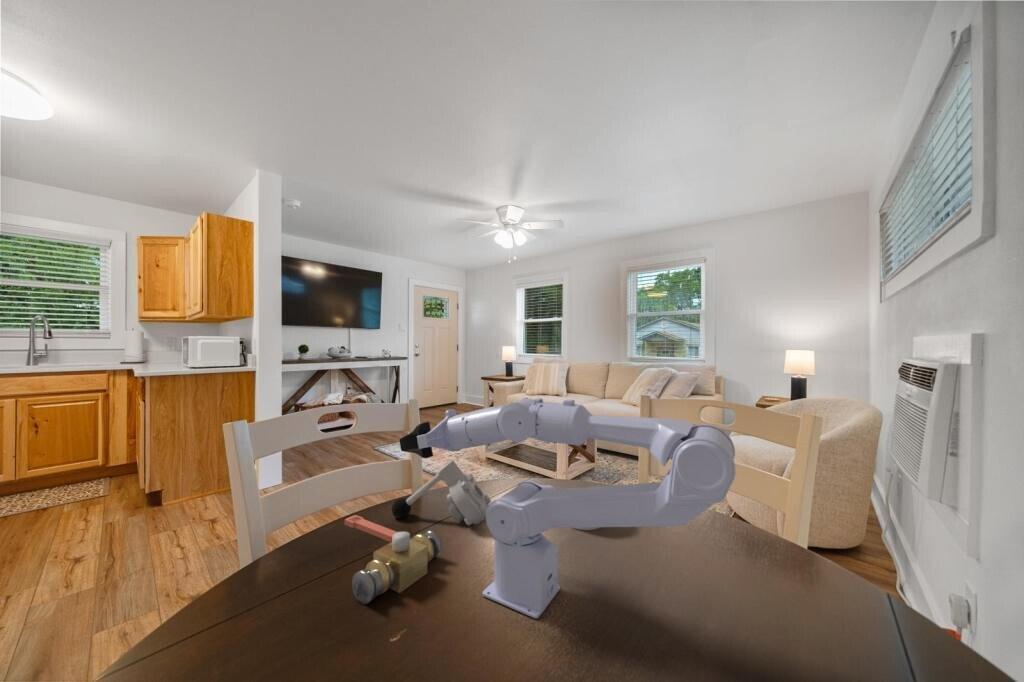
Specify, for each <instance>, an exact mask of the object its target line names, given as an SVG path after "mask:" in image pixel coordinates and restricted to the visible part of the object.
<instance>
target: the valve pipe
mask: <svg viewBox="0 0 1024 682" xmlns="http://www.w3.org/2000/svg"><path fill="white" fill-rule="evenodd" d="M442 550H443V542H442V538H441V537H440V535H439V533H437V532H436V531H435V530H433V529H431V530H430V529H429V530H427V531H425V532H424V533H418V534H416V535H414V536H412V537H411V538H410V547H409V548H408V549H407V550H405V551H394V550H393V549H392V542H389V543H387V544H385V545H383V546H381V547H380V548H379V549H378V548H377V550H375V551H373V560H371V561H369V562H368V563H367V564H366V566H365V568H364V569H361V570H359V571H357V572H356V573H354V574H353V576H352V580H351V588H352V592H353V594H354V596H355V599H356V600H357V601H358V602H359V603H361V604H362V605H367V604H369V603H370V602H372V601H373V600H374V599H375V598H376V597H378V596H380V595H382V594H384V593H385V592H387V591H388V590H389V589H391V591H395V592H396V593H398V594H401V593H402V592H404V590H406V589H407V588H409V587H410V586H411V585H413V584H414V583H416V582H417V581H419V580H420V579H421V578H423V577H424V576H425V575H427V574H428V562H430V561H431V560H432V559H434V558H436V557H438V556H439V555H440V554H441V553H442Z"/></svg>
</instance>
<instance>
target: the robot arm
mask: <svg viewBox="0 0 1024 682" xmlns="http://www.w3.org/2000/svg"><path fill="white" fill-rule="evenodd" d="M543 400H544V399H543V398H542V397H541V398H540V397H539V398H538V397H537V398H529V397H524V398H522V399H520V400H516V401H512V402H508V403H506V404H502V405H498V406H497V405H494V406H490V407H485V408H480V409H477V410H473V411H469V412H465V413H464V412H463V413H460V414H457V411H456V410H455V409H454V408H453V409H447V410H446V411H445V417H444V419H442V420H441V421H440V422H439V423H437V425H435V427H433V428H431V424H430V422H429V421H427V422H421V423H419V424H417V425H416V426H415V428H414V429H413V430H412V431H411V432H410V433H408V434H405V435H404V436H402V437H401V438H400V439H398V440H399V446H400V451H401V452H404V453H411V454H416V455H418V456H420V458H422V459H429V458H432V457H434V452H433V448H434V449H439V450H445V451H450V452H459V451H461V450H464V449H469V448H475V447H481V446H486V445H493V444H498V443H502V442H504V441H507V440H508V441H510V442H511V441H512V442H514V443H516V444H518V443H523V442H524V441H526V440H527V439H529V437H530V438H532V439H535V440H537V441H543V442H549V443H550V442H551V443H555V444H556V443H557V444H564V445H571V446H581V445H583V444H584V443H585V442H586V441H587V440H588V439H593V440H599V441H604V442H610V443H617V444H621V445H627V446H631V447H632V446H633V447H639V448H644V449H646V450H648V451H649V453H650V454H651V455H652V456H653V458H655V459H656V461H658V462H659V463H660V465H661V466H663V467H666V465H667V463H668V462H669V459H670V460H671V463H670V468H669V470H668V471H667V472H666V474H665V475H664V477H663V479H662V480H661V481H655V482H644V483H643V482H641V483H630V484H615V485H611V484H610V485H600V486H599V485H598V486H597V485H596V486H585V487H570V488H568V487H567V488H555V487H554V486H552V485H549V484H548V485H546V484H545V485H542V484H539V483H537V482H535V481H532V480H525V481H522V482H520V483H518V485H516V487H514V488H513V489H511V490H509V491H508V492H507V493H505V494H504V495H502V496H500V497H499V498H496V499H493V500H491V502H490V503H489V506H488V508H487V511H486V518H485V521H486V525H487V528H488V530H489V532H490V534H491V536H493V540H494V557H493V558H494V561H493V563H494V568H493V570H494V571H493V572H494V573H493V575H494V577H493V578H494V580H493V581H492V582H491V583H490V584H489V585H488V586H487V587H486V588H485V589H484V590H483V591H482V596H483V597H484V598H487V599H489V600H491V601H494V602H496V603H499V604H500V605H503V606H506V607H508V608H510V609H513V610H514V611H517V612H520V613H522V614H523V615H527V616H529V617H531V618H533V619H538V618H540V616H541V615H542V613H544V611H545V609H546V608H547V607H548V606H549V604H550V603H551V601H552V600H553V599H554V598H555V596H556V595H557V594H558V592H559V591H560V590H561V587H560V585H559V548H558V545H557V543H556V542H554V541H551V540H550V539H548V538H547V537H546V536H545V535H544V534H543V533H544V532H546V531H548V530H551V529H557V528H559V529H563V528H564V529H565V528H568V529H570V528H572V529H574V527H600V528H632V527H633V528H634V527H635V528H636V527H638V528H639V527H640V528H641V527H646V528H647V527H682V526H685V525H687V524H689V523H690V522H692V521H693V520H695V518H697V517H698V516H700V515H701V514H702V513H704V512H705V511H706V510H707V509H710V507H712V506H713V505H715V504H719V503H722V502H724V500H725V498H726V497H727V494H728V492H730V489H731V487H732V484H734V483H733V482H734V480H735V478H736V464H735V460H734V459H735V456H736V455H735V454H736V449H735V445H734V442H733V440H732V439H731V437H730V436H729V435H728V434H727V433H726V431H725V430H723V429H722V428H720V427H717V426H715V425H711V424H705V423H703V424H696V425H695V422H692V421H689V420H688V421H687V420H682V419H673V418H672V419H670V418H660V417H659V418H657V417H640V416H624V415H623V416H622V415H619V416H618V415H603V414H602V415H601V414H592V413H591V412H590V411H589V410H588V409H587V408H586V407H585V406H584V405H582V404H575V403H576V402H575V399H565V400H564V399H563V401H562V402H552V401H543Z"/></svg>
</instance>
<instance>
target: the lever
mask: <svg viewBox="0 0 1024 682" xmlns="http://www.w3.org/2000/svg"><path fill="white" fill-rule="evenodd" d="M344 525H345V526H347V527H349V528H352V529H354V528H355V529H358V530H360V531H363V532H365V533H368V534H370V535H372V536H375V537H377V538H380V539H382V540H385V541H387V542H389V543H391V542H392V549H393V550H394V551H405V550H407V549H408V548H409V547H410V539H411V533H410V532H408V531H396V530H392V529H391V528H388V527H385V526H383V525H380V524H377V523H374V522H372V521H370V520H367V519H365V518H364V517H362V516H360V515H356V514H354V515H352V516H349V517H347V518H345V519H344Z"/></svg>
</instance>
